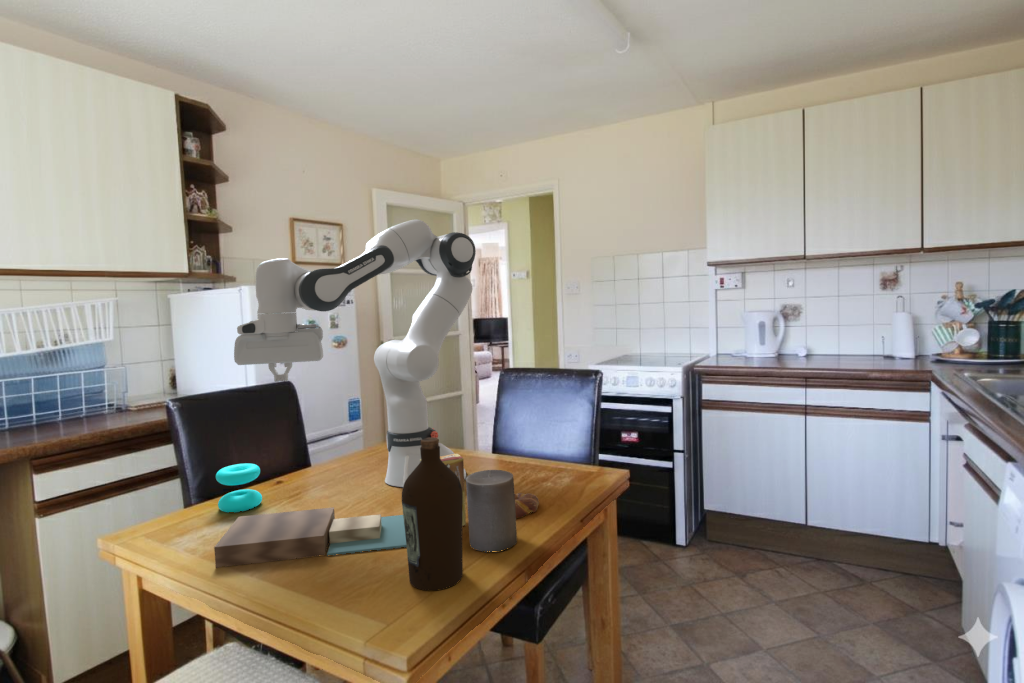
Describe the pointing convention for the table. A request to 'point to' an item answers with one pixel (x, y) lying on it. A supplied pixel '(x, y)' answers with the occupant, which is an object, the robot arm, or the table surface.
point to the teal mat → (388, 539)
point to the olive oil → (433, 521)
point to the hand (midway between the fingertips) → (281, 381)
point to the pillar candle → (491, 510)
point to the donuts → (239, 498)
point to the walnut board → (275, 537)
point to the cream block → (355, 528)
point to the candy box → (457, 467)
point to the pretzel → (525, 504)
